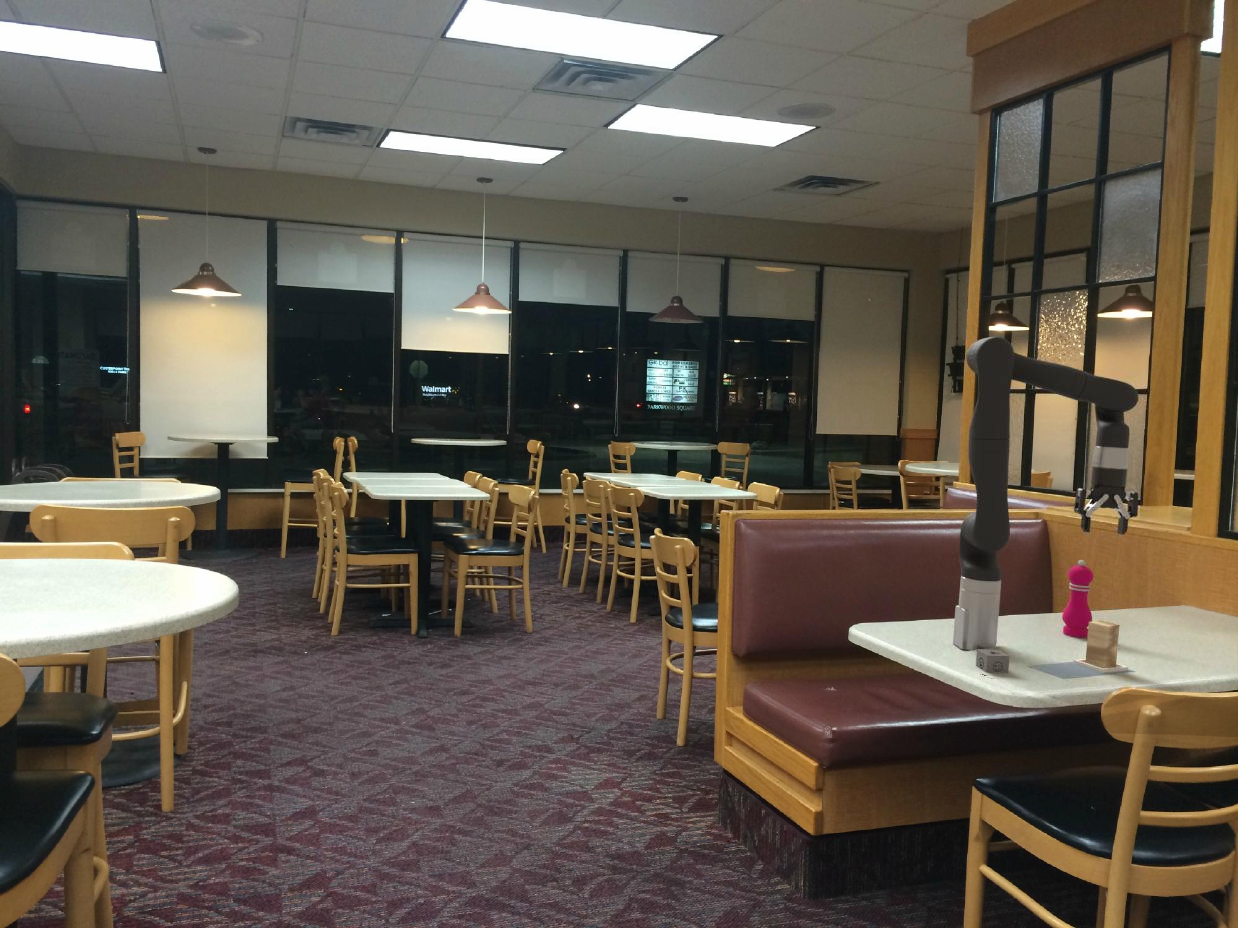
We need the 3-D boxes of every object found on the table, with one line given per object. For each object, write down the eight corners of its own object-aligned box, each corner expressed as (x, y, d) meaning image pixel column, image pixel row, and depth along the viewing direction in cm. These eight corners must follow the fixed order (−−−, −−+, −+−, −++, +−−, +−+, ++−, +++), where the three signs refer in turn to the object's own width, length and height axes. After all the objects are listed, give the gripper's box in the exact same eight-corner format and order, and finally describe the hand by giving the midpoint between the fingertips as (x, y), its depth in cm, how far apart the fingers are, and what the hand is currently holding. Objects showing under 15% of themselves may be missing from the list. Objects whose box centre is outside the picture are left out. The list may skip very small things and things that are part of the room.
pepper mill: (1087, 639, 249) (1094, 563, 247) (1057, 634, 253) (1063, 559, 252) (1093, 634, 255) (1099, 560, 253) (1064, 629, 259) (1070, 556, 258)
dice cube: (985, 677, 208) (987, 655, 208) (975, 671, 213) (976, 649, 213) (1007, 678, 209) (1009, 655, 208) (996, 671, 213) (998, 649, 213)
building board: (1063, 684, 206) (1064, 674, 206) (1026, 671, 215) (1027, 662, 215) (1134, 676, 215) (1135, 667, 214) (1096, 664, 224) (1097, 656, 224)
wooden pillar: (1103, 670, 214) (1107, 626, 213) (1085, 665, 218) (1088, 621, 217) (1115, 668, 216) (1119, 624, 216) (1097, 663, 220) (1100, 620, 219)
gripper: (1088, 465, 226) (1081, 533, 227) (1148, 469, 226) (1141, 537, 227) (1072, 463, 233) (1066, 529, 234) (1130, 466, 233) (1124, 532, 235)
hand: (1103, 533), depth 231 cm, fingers open, 8 cm apart
